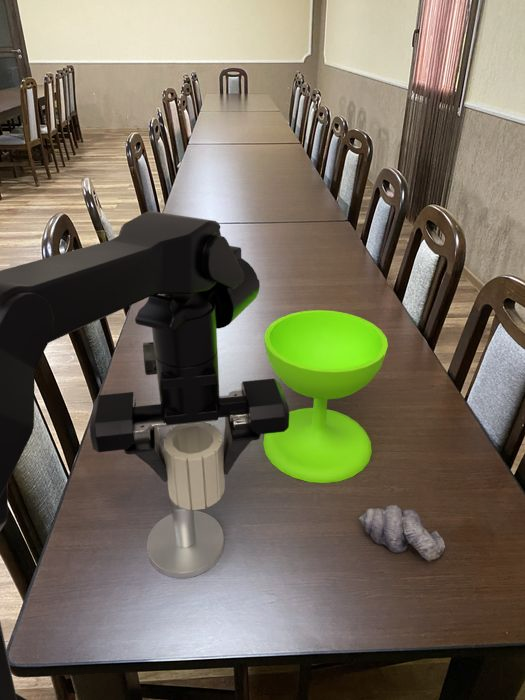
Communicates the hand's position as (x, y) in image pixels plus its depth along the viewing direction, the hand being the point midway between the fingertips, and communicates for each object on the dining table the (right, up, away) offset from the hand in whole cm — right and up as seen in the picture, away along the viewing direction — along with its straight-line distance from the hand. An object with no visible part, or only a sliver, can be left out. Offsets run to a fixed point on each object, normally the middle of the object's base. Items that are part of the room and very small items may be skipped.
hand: (196, 475), depth 57 cm
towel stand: (-2, -10, +6) cm, 12 cm away
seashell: (+23, -10, +7) cm, 26 cm away
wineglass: (+15, -1, +22) cm, 27 cm away
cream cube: (-9, 0, +22) cm, 24 cm away
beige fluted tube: (0, -2, +1) cm, 2 cm away
